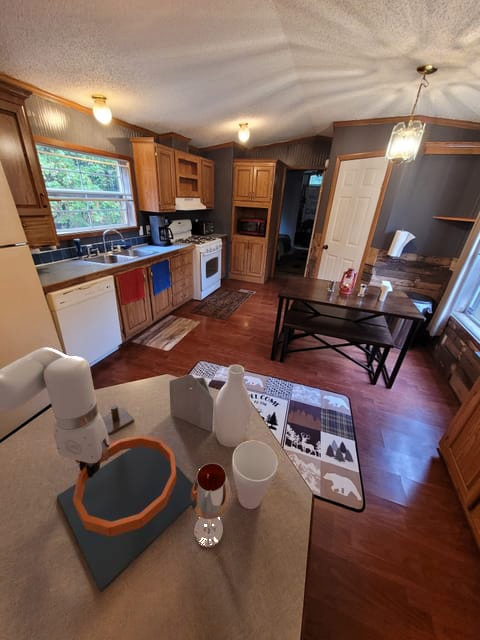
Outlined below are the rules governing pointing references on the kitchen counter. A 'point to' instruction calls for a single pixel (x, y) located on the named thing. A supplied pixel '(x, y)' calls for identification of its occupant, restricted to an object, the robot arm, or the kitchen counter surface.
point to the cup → (253, 471)
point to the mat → (125, 508)
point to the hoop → (136, 520)
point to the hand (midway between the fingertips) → (91, 470)
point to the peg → (117, 419)
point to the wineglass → (210, 502)
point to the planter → (192, 401)
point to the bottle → (232, 409)
